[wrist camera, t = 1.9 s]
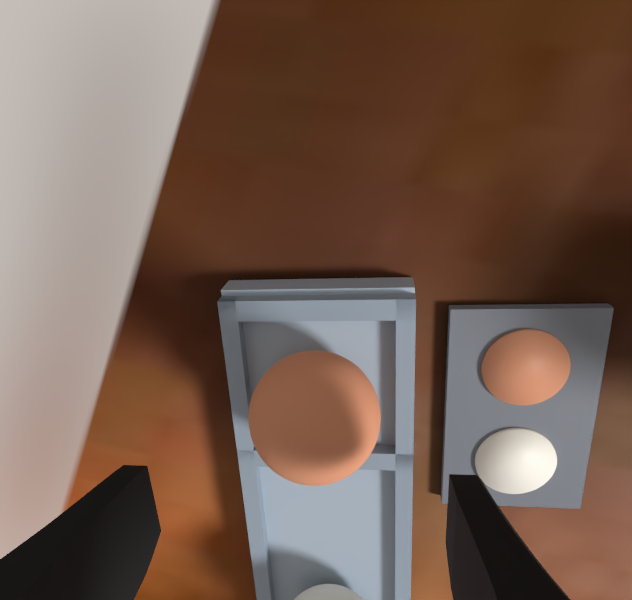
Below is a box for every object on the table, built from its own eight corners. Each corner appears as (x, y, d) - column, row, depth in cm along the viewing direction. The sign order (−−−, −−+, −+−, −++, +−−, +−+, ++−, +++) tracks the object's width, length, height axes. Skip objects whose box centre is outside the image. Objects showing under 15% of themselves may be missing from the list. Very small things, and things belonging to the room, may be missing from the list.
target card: (608, 303, 16) (616, 309, 16) (576, 500, 19) (581, 511, 19) (448, 304, 17) (450, 311, 16) (440, 496, 20) (442, 506, 19)
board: (412, 277, 17) (416, 293, 15) (406, 681, 24) (408, 717, 22) (229, 280, 17) (216, 295, 16) (276, 671, 25) (270, 705, 23)
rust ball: (379, 328, 16) (380, 395, 13) (380, 432, 18) (381, 519, 14) (258, 329, 17) (225, 393, 13) (268, 430, 18) (241, 514, 15)
